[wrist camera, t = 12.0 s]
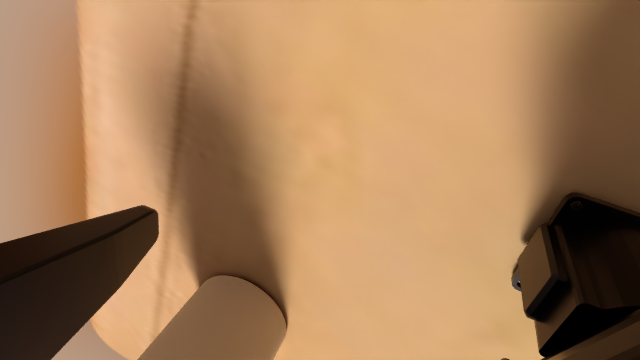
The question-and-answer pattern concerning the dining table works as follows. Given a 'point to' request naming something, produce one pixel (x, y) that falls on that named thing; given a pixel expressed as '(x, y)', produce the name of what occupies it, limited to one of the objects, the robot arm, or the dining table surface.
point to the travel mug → (222, 325)
